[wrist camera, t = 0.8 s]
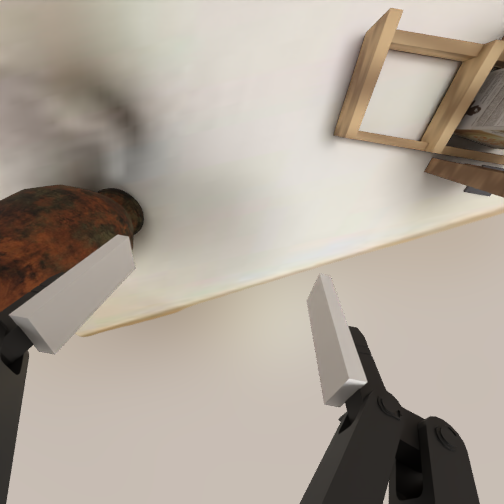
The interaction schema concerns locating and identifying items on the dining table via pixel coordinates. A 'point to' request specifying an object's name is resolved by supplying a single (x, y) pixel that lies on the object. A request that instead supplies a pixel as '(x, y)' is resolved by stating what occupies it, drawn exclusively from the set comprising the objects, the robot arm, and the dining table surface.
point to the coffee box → (486, 113)
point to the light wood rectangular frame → (454, 102)
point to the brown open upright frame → (469, 174)
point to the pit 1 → (477, 191)
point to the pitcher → (57, 232)
